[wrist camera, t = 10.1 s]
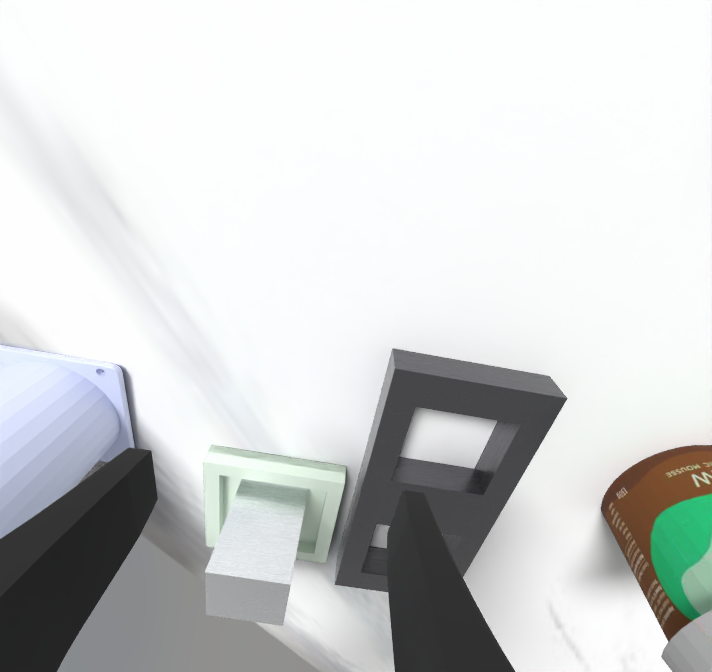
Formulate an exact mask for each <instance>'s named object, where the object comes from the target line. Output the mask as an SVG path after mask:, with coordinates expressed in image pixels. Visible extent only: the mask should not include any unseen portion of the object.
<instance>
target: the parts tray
mask: <svg viewBox="0 0 712 672" xmlns="http://www.w3.org/2000/svg"><path fill="white" fill-rule="evenodd" d="M345 475H346V466H342V465H335V464H329V463H323V462H316V461H310V460H304V459H297V458H291V457H285V456H278V455H272V454H266V453H259V452H253V451H247V450H240V449H234V448H228V447H221V446H215V445H212V446H211V448H210V450H209V451H208V453H207V455H206V457H205V459H204V461H203V477H204V504H205V530H206V546H207V547H214V548H215V545H216V543H217V540H218V538H219V535H220V533H221V530H222V528H223V525H224V523H225V520H226V518H227V515H228V512H229V510H230V507H231V505H232V502H233V500H234V497H235V495H236V492H237V490H238V487H239V485H240V482H241V480H242V479H248V480H255V481H261V482H268V483H274V484H281V485H287V486H294V487H300V488H307V489H308V494H307V499H306V504H305V510H304V515H303V520H302V526H301V531H300V537H299V542H298V547H297V553H296V558H295V559H298V560H305V561H311V562H318V563H325V564H326V559H327V555H328V551H329V547H330V543H331V539H332V535H333V530H334V526H335V522H336V518H337V514H338V510H339V506H340V502H341V497H342V493H343V489H344V485H345Z"/></svg>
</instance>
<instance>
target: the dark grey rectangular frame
mask: <svg viewBox="0 0 712 672" xmlns="http://www.w3.org/2000/svg"><path fill="white" fill-rule="evenodd" d="M566 400H567V397H566V396H565V395H564V394H563V392H562V391H561V390H560V389H559V387H558V386H557V385H556V384H555V382H554V381H553V380H552V379H551V378H550V376H545V375H540V374H534V373H528V372H523V371H517V370H511V369H506V368H500V367H494V366H489V365H483V364H477V363H472V362H466V361H460V360H455V359H449V358H443V357H438V356H432V355H426V354H421V353H415V352H409V351H404V350H398V349H392V353H391V357H390V360H389V364H388V368H387V372H386V375H385V379H384V383H383V387H382V391H381V394H380V398H379V402H378V406H377V409H376V413H375V417H374V421H373V424H372V428H371V432H370V436H369V439H368V443H367V447H366V451H365V455H364V458H363V462H362V466H361V470H360V473H359V477H358V481H357V485H356V488H355V492H354V496H353V500H352V503H351V507H350V511H349V515H348V519H347V522H346V526H345V530H344V534H343V537H342V541H341V545H340V549H339V552H338V556H337V565H336V577H335V585H341V586H348V587H355V588H362V589H369V590H376V591H384V592H388V580H387V549H383V548H376V547H369V545H370V542H371V539H372V536H373V533H374V530H375V527H376V524H381V525H388V526H390V525H391V522H392V519H393V517H394V514H395V511H396V508H397V506H398V503H399V500H400V497H401V495H402V492H403V490H406V491H413V492H419V493H424V494H425V496H426V497H427V500H428V502H429V505H430V507H431V510H432V512H433V515H434V517H435V519H436V522H437V524H438V526H439V529H440V531H441V533H442V534H443V537H444V540H445V542H446V544H447V546H448V549H449V551H450V553H451V555H452V557H453V559H454V561H455V563H456V565H457V567H458V569H459V571H460V573H461V575H462V577H463V576H464V574H465V573H466V571H467V569H468V568H469V566H470V564H471V562H472V561H473V559H474V557H475V556H476V554H477V552H478V551H479V549H480V547H481V545H482V544H483V542H484V540H485V539H486V537H487V535H488V533H489V532H490V530H491V528H492V527H493V525H494V523H495V521H496V520H497V518H498V516H499V515H500V513H501V511H502V509H503V508H504V506H505V504H506V503H507V501H508V499H509V497H510V496H511V494H512V492H513V491H514V489H515V487H516V485H517V484H518V482H519V480H520V479H521V477H522V475H523V473H524V472H525V470H526V468H527V467H528V465H529V463H530V462H531V460H532V458H533V456H534V455H535V453H536V451H537V450H538V448H539V446H540V444H541V443H542V441H543V439H544V438H545V436H546V434H547V432H548V431H549V429H550V427H551V426H552V424H553V422H554V420H555V419H556V417H557V415H558V414H559V412H560V410H561V408H562V407H563V405H564V403H565V402H566ZM415 407H421V408H427V409H433V410H439V411H445V412H451V413H457V414H463V415H469V416H475V417H481V418H487V419H493V420H498V422H497V424H496V426H495V428H494V430H493V432H492V435H491V437H490V439H489V441H488V443H487V445H486V447H485V449H484V451H483V453H482V455H481V457H480V459H479V461H478V463H477V465H476V467H475V469H471V468H465V467H458V466H452V465H446V464H440V463H433V462H427V461H421V460H415V459H408V458H402V457H399V455H400V452H401V449H402V446H403V443H404V440H405V437H406V433H407V430H408V427H409V424H410V421H411V418H412V415H413V412H414V409H415Z"/></svg>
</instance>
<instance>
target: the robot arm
mask: <svg viewBox="0 0 712 672" xmlns="http://www.w3.org/2000/svg"><path fill="white" fill-rule="evenodd" d="M101 369H102V370H103V371H105V372H103V371H102V370H101ZM98 461H103V462H108V463H107V464H105V465H104V466H103V467H101V468H100V469H99V470H97V471H96V472H95V473H93V474H92V475H91V476H89V477H88V478H86V479H85V480H84V481H82V482H81V483H80V484H78V483H79V482H80V481H81V480H82V479H83V478H84V477H85V475H86V474H87V473H88V472H89V471H90V470H91V469H92V468H93V466H94V465H95V464H96V463H97V462H98ZM77 484H78V485H77ZM157 499H158V498H157V491H156V483H155V476H154V468H153V461H152V453H151V451H149V450H143V449H136V448H135V446H134V440H133V434H132V428H131V422H130V415H129V409H128V403H127V397H126V391H125V385H124V379H123V372H122V370H121V368H120V367H119V366H117V365H115V364H112V363H106V362H100V361H94V360H88V359H82V358H76V357H70V356H64V355H58V354H52V353H46V352H40V351H34V350H28V349H22V348H16V347H10V346H4V345H0V672H57V670H58V668H59V666H60V664H61V662H62V661H63V659H64V657H65V655H66V653H67V652H68V650H69V648H70V647H71V645H72V643H73V641H74V640H75V638H76V636H77V635H78V633H79V631H80V630H81V628H82V627H83V625H84V623H85V622H86V620H87V619H88V617H89V616H90V614H91V612H92V611H93V609H94V608H95V606H96V604H97V603H98V601H99V600H100V598H101V596H102V595H103V593H104V592H105V590H106V589H107V587H108V585H109V584H110V582H111V581H112V579H113V578H114V576H115V574H116V573H117V571H118V570H119V568H120V567H121V565H122V563H123V562H124V560H125V559H126V557H127V555H128V554H129V552H130V551H131V549H132V547H133V546H134V544H135V542H136V541H137V539H138V537H139V536H140V534H141V532H142V530H143V528H144V526H145V524H146V522H147V520H148V518H149V516H150V514H151V512H152V509H153V507H154V505H155V503H156V501H157ZM387 580H388V592H389V605H390V617H391V629H392V641H393V653H394V665H395V672H515V670H514V669H513V667H512V665H511V664H510V662H509V661H508V659H507V657H506V656H505V654H504V652H503V651H502V649H501V647H500V646H499V644H498V642H497V640H496V639H495V637H494V635H493V633H492V632H491V630H490V628H489V626H488V625H487V623H486V621H485V619H484V617H483V616H482V614H481V612H480V610H479V608H478V606H477V605H476V603H475V601H474V599H473V597H472V595H471V593H470V591H469V589H468V587H467V585H466V583H465V581H464V579H463V577H462V575H461V573H460V571H459V569H458V567H457V565H456V563H455V561H454V559H453V557H452V555H451V553H450V551H449V549H448V546H447V544H446V542H445V540H444V537H443V535H442V533H441V531H440V529H439V526H438V524H437V522H436V519H435V517H434V515H433V512H432V510H431V507H430V505H429V502H428V500H427V497H426V496H425V494H424V493H419V492H413V491H406V490H403V492H402V495H401V497H400V500H399V503H398V506H397V508H396V511H395V514H394V517H393V519H392V522H391V525H390V528H389V530H388V536H387Z"/></svg>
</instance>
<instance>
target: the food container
mask: <svg viewBox="0 0 712 672" xmlns="http://www.w3.org/2000/svg"><path fill="white" fill-rule="evenodd" d="M601 511H602V513H603V515H604V517H605V519H606V521H607V523H608V525H609V527H610V529H611V531H612V532H613V534H614V536H615V538H616V540H617V542H618V544H619V546H620V548H621V550H622V552H623V554H624V556H625V558H626V560H627V562H628V564H629V566H630V568H631V570H632V571H633V573H634V575H635V577H636V579H637V581H638V583H639V585H640V587H641V589H642V591H643V593H644V595H645V597H646V599H647V601H648V603H649V605H650V607H651V609H652V610H653V612H654V614H655V616H656V618H657V620H658V622H659V624H660V626H661V628H662V630H663V632H664V634H665V636H666V638H667V640H668V644H667V645H666V647H665V648H664V650H663V653H662V656H661V657H662V658H663V660H664V661H665V662H666V664H667V665H668V666H669V668H670V669H671V670H672V672H712V445H693V446H685V447H679V448H675V449H671V450H667V451H664V452H661V453H658V454H655V455H653V456H651V457H648V458H646V459H644V460H642V461H640V462H639V463H637V464H635V465H633V466H632V467H630V468H629V469H628V470H626V471H625V472H623V473H622V474H621V475H620V476H619V477H618V478H617V479H616V480H615V481H614V482H613V483H612V485H611V486H610V487H609V488H608V490H607V492H606V494H605V495H604V498H603V501H602V507H601Z"/></svg>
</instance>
